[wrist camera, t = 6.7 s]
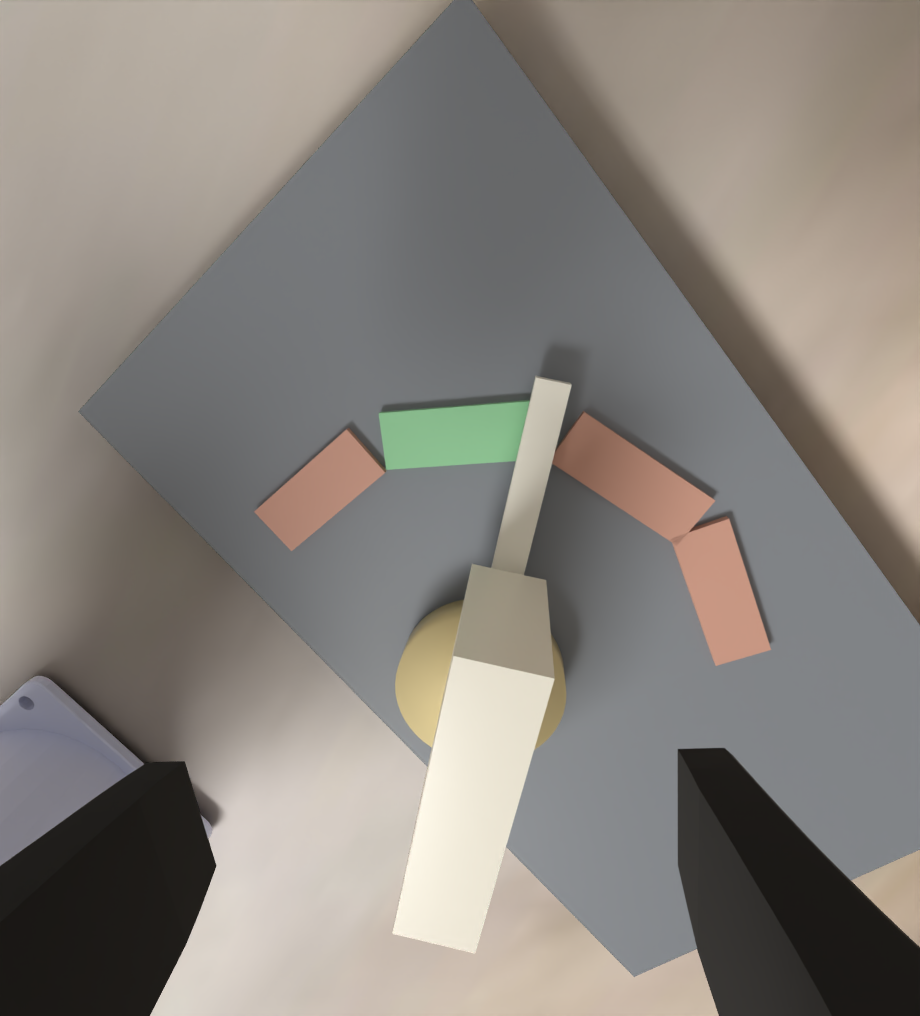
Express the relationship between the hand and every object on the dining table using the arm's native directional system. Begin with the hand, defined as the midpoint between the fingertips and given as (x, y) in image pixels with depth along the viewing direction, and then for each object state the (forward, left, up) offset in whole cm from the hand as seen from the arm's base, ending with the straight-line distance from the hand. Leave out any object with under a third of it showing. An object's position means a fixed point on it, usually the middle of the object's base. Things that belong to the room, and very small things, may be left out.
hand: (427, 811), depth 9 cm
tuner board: (+2, -2, -9) cm, 9 cm away
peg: (0, -1, -7) cm, 7 cm away
